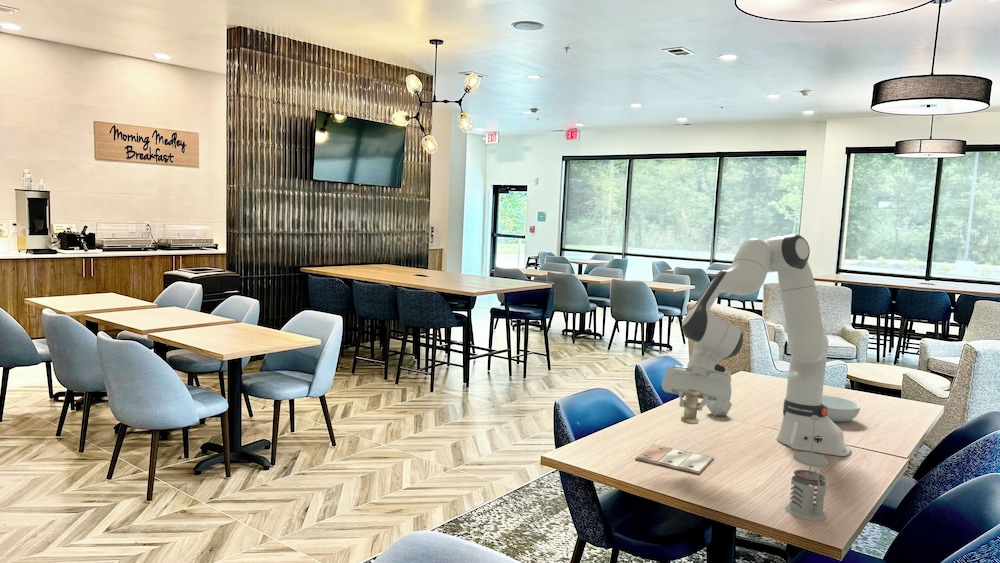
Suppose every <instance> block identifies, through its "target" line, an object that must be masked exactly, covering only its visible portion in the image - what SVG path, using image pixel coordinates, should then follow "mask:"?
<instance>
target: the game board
mask: <svg viewBox="0 0 1000 563" xmlns="http://www.w3.org/2000/svg"><path fill="white" fill-rule="evenodd" d="M634 459H635V461H638V460H639V462H642V461H643V462H642V463H646V462H647V463H646V464H651V465H655V466H659V467H663V466H664V468H667V467H668V469H673V470H675V471H676V470H677V471H680V472H681V471H682V472H684V471H685V473H688V474H694V475H697V476H700V475H701V473H702V472H704V470H706V468H707V467H708V466H709V465H710V464H711V463H712V462H713V461H714V459H715V457H713V456H710V455H709V456H708V455H704V454H700V453H695V452H690V451H686V450H683V449H682V450H681V449H677V448H673V447H667V446H665V445H664V446H663V445H659V444H652V445H650V446H649V447H648V448H646V449H645V450H644V451H643V452H642V453H639V455H638V456H637V457H635V458H634Z"/></svg>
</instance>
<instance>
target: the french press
mask: <svg viewBox="0 0 1000 563" xmlns="http://www.w3.org/2000/svg"><path fill="white" fill-rule="evenodd" d="M811 420H814V427H815V421H819V417H818V416H816V415H812V416H811ZM814 427H813V437H814ZM813 437H812V447H811V452H810V451H802V452H797V453H795V454H794V455H793V456H792V458H793V459H794V461H796V462H798V463H800V464H803V465H807V466H809V469H797V470H794V472H793V474H794V475H792V477H791V484H790V486H792V487H791V488H790V491H791V492H790V493H789V494H790V497H789V500H790V501H789V503H788V504H787V505H785V506H784V510H785V511H786V513H788V514H790V515H791V516H793V517H797V518H799V519H803V520H806V521H807V520H808V521H814V522H815V521H824V520H826V519H827V517H828V515H827V514H826V513H825V511H824V502H825V495H826V492H827V491H826V490H827V480H826V476H825V473H824V471H823V470H820V472H817V471H816V470H814V471H813V470H811V466H812V467H826V466H828V464H829V461H828V459H826V458H825V457H824V456H822V455H821V454H820V453H817V452H812V448H813ZM815 487H817V488H815ZM815 492H816V493H815Z"/></svg>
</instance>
